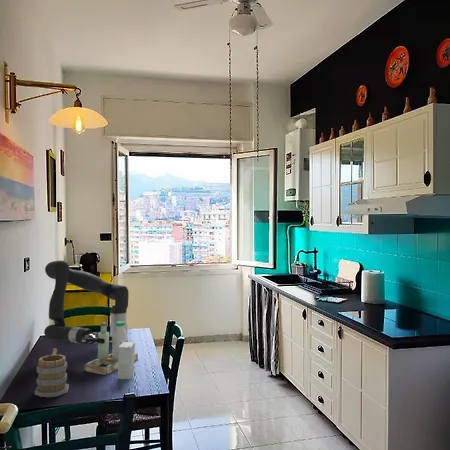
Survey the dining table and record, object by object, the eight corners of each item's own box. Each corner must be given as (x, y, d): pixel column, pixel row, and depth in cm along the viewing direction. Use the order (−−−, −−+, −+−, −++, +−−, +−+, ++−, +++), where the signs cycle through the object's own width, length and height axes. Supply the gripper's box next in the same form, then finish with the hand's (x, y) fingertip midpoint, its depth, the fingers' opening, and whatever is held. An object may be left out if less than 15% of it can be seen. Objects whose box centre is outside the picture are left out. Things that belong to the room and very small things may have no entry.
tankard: (66, 396, 182) (66, 359, 182) (32, 398, 179) (32, 361, 179) (72, 379, 202) (72, 345, 201) (42, 381, 199) (42, 347, 199)
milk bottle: (114, 364, 222) (114, 324, 221) (110, 360, 229) (110, 321, 228) (129, 362, 225) (129, 322, 225) (125, 358, 232) (125, 319, 232)
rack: (117, 356, 235) (117, 350, 235) (137, 359, 230) (137, 353, 230) (84, 371, 212) (84, 364, 212) (105, 374, 207) (105, 367, 207)
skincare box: (122, 373, 210) (122, 341, 210) (134, 373, 210) (135, 341, 209) (117, 379, 201) (117, 346, 201) (131, 379, 201) (131, 346, 201)
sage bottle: (102, 355, 219) (103, 321, 218) (110, 357, 217) (111, 322, 216) (95, 358, 214) (96, 323, 214) (103, 360, 212) (104, 324, 212)
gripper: (69, 331, 215) (98, 335, 208) (90, 325, 228) (117, 328, 221) (69, 346, 215) (97, 351, 208) (90, 339, 228) (117, 344, 221)
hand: (107, 339), depth 214 cm, fingers closed on sage bottle, 5 cm apart
